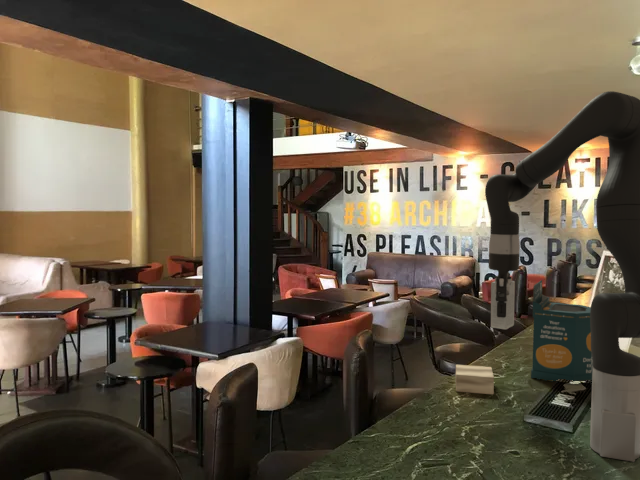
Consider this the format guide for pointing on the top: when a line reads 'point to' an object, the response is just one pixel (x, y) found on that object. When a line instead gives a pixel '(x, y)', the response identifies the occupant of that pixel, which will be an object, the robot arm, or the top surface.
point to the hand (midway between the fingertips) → (502, 314)
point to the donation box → (560, 340)
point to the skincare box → (509, 319)
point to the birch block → (474, 379)
